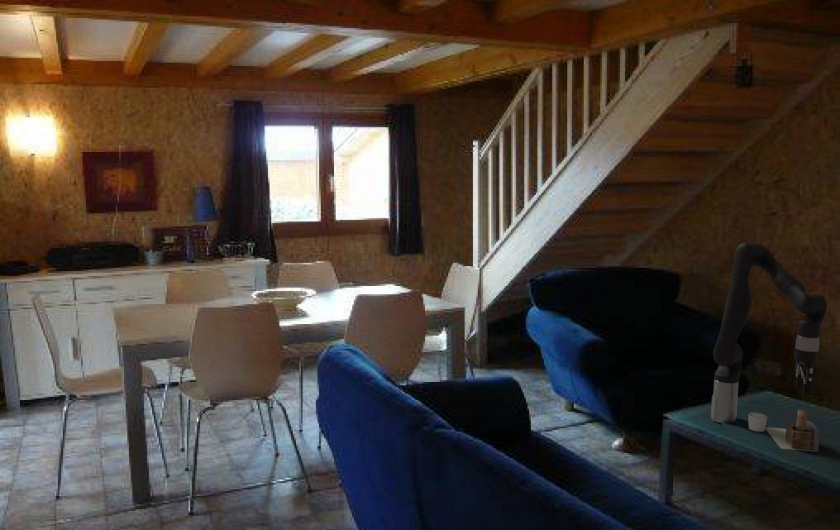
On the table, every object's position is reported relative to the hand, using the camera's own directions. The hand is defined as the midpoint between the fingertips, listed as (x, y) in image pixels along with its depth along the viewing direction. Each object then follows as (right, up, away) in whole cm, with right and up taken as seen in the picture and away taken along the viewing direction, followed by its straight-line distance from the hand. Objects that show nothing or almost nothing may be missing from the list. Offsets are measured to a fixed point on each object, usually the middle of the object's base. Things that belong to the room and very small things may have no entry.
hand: (802, 390), depth 254 cm
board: (0, -21, +9) cm, 23 cm away
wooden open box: (0, -21, +3) cm, 21 cm away
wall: (+4, -21, +2) cm, 22 cm away
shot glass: (-7, -20, +20) cm, 29 cm away
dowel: (0, -20, +3) cm, 20 cm away
